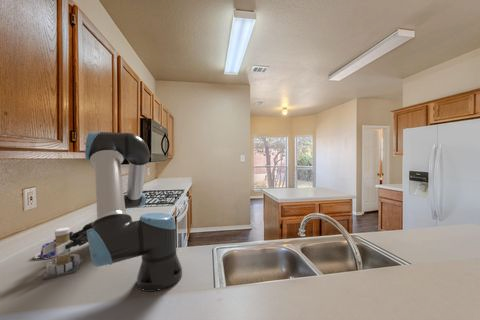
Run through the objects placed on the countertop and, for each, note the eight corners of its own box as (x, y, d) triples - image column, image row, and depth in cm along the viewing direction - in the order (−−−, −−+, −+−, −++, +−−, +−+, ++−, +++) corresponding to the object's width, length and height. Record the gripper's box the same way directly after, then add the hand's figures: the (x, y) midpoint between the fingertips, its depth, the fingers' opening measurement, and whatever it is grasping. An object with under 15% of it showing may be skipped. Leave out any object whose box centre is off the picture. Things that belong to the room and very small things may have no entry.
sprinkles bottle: (61, 259, 86) (60, 227, 86) (73, 259, 87) (72, 226, 87) (53, 265, 82) (51, 231, 82) (65, 264, 82) (64, 230, 82)
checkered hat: (29, 257, 97) (28, 246, 97) (61, 247, 107) (60, 237, 107) (39, 263, 91) (38, 251, 91) (72, 251, 101) (71, 241, 101)
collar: (76, 272, 82) (76, 261, 82) (43, 279, 78) (42, 269, 78) (81, 261, 91) (81, 251, 91) (51, 267, 86) (51, 257, 86)
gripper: (112, 236, 102) (73, 260, 79) (78, 237, 103) (28, 261, 79) (112, 221, 102) (72, 240, 78) (77, 221, 102) (27, 241, 79)
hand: (50, 251), depth 79 cm, fingers closed on sprinkles bottle, 4 cm apart
